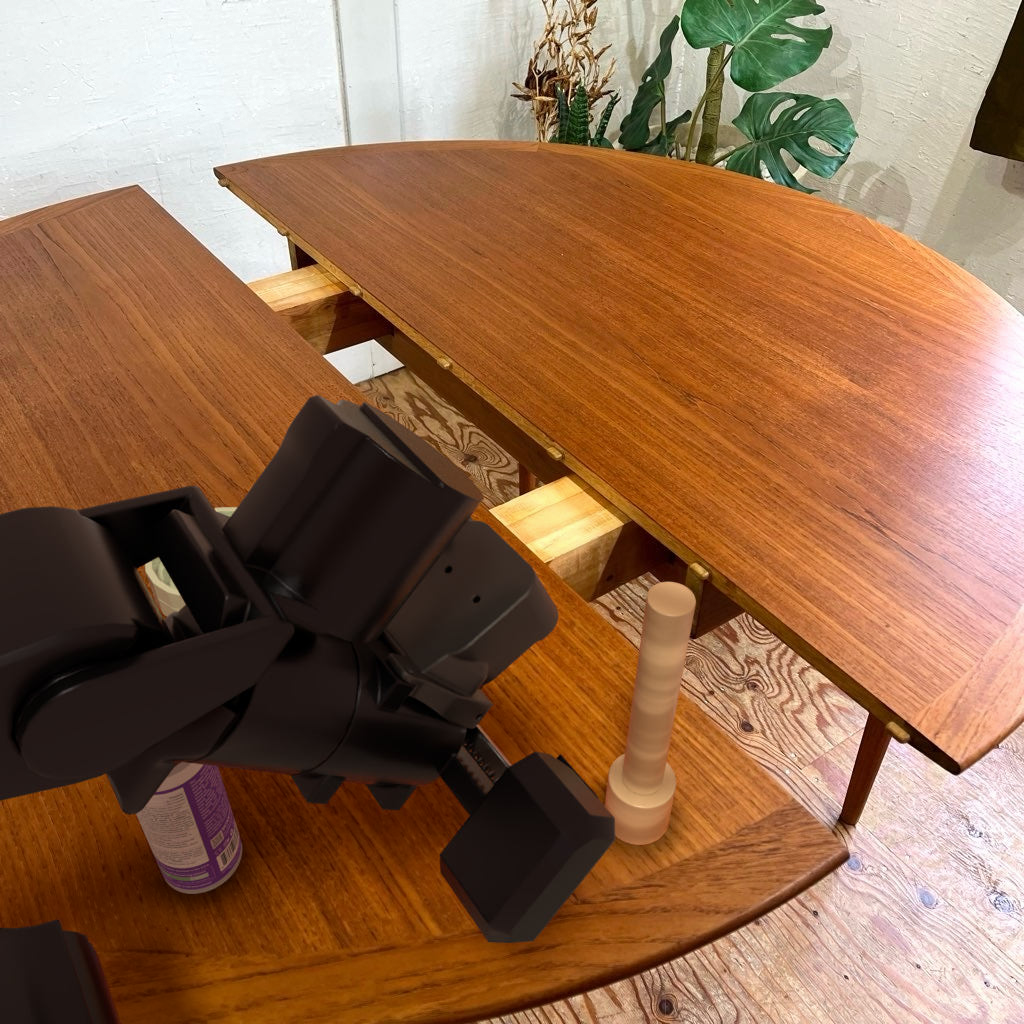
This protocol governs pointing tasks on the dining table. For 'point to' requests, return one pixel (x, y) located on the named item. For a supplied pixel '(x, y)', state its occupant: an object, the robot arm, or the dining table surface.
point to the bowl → (169, 580)
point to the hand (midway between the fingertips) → (534, 743)
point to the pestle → (652, 719)
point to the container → (192, 829)
